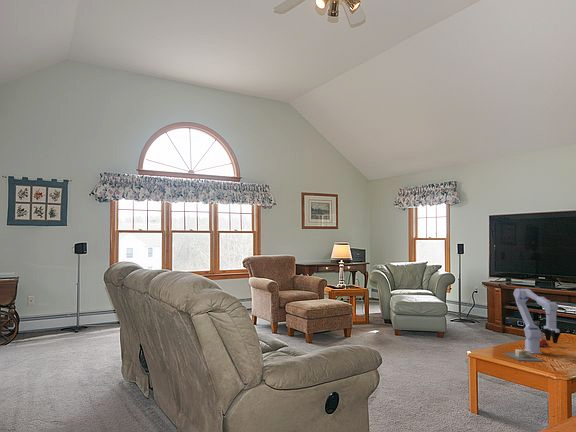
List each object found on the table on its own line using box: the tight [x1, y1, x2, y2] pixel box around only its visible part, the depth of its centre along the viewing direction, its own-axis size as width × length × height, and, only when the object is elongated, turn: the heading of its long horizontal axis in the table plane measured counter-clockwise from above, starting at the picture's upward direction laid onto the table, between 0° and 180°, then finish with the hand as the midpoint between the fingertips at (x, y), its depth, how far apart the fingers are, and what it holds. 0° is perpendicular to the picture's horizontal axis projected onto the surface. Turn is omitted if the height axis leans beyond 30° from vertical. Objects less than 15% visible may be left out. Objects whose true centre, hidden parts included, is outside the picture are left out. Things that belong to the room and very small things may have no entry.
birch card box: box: [514, 348, 532, 358], centre depth 294 cm, size 8×4×4 cm, turn 90°
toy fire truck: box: [539, 333, 552, 348], centre depth 329 cm, size 3×14×10 cm, turn 101°
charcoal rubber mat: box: [504, 352, 544, 362], centre depth 294 cm, size 18×16×1 cm
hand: (551, 341), depth 295 cm, fingers open, 7 cm apart
